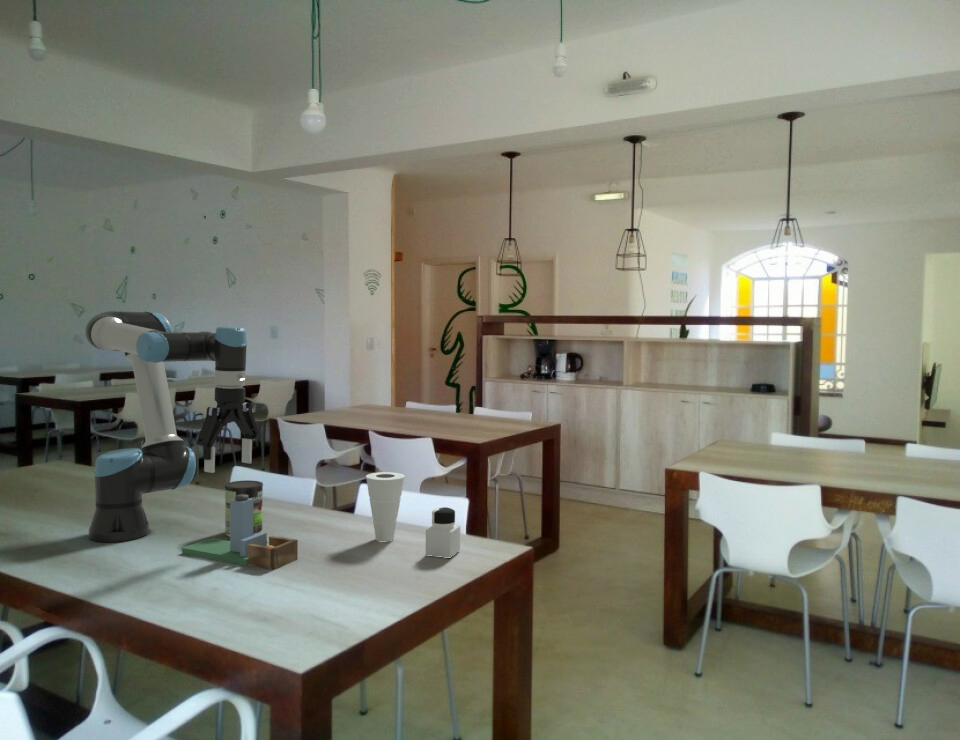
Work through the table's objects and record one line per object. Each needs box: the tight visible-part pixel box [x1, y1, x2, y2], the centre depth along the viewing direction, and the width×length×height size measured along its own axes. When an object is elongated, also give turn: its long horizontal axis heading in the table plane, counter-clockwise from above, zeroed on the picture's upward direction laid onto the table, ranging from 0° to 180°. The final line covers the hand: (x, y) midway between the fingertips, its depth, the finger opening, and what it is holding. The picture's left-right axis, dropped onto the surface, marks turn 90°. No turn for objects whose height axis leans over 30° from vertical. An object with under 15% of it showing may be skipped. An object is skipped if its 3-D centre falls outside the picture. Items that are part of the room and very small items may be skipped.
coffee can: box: [224, 479, 264, 538], centre depth 208 cm, size 10×10×14 cm
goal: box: [247, 535, 299, 571], centre depth 184 cm, size 8×9×5 cm
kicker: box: [229, 494, 268, 557], centre depth 187 cm, size 7×8×14 cm
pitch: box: [181, 537, 249, 566], centre depth 189 cm, size 21×10×2 cm, turn 67°
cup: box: [365, 471, 406, 542], centre depth 204 cm, size 11×11×18 cm
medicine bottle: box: [425, 506, 461, 558], centre depth 193 cm, size 7×7×12 cm
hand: (228, 467), depth 192 cm, fingers open, 13 cm apart
